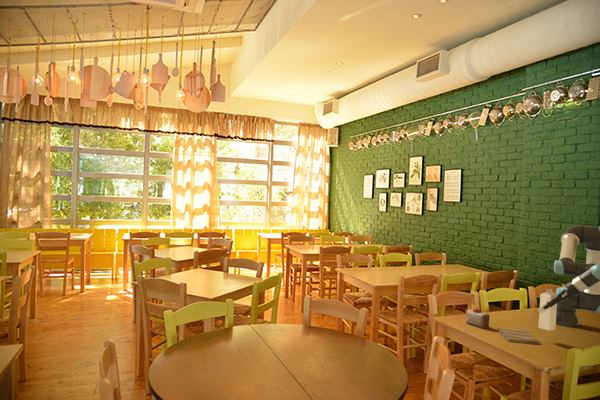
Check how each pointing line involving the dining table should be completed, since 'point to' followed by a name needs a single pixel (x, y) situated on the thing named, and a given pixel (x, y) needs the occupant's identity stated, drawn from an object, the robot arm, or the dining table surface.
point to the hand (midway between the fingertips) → (540, 310)
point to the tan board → (518, 336)
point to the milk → (547, 311)
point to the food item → (477, 318)
